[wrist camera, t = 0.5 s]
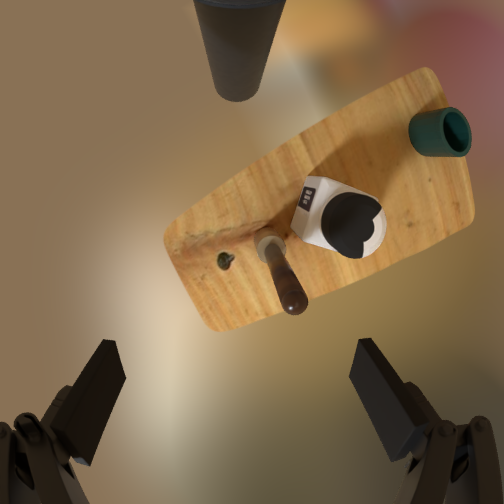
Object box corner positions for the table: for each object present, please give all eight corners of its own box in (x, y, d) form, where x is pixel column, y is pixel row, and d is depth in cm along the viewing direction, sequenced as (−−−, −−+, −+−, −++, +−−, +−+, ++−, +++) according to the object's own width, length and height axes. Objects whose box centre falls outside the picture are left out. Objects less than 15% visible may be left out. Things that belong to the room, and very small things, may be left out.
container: (288, 227, 38) (314, 255, 26) (306, 174, 36) (340, 176, 24) (337, 243, 39) (378, 274, 27) (354, 193, 37) (404, 204, 25)
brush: (253, 227, 38) (272, 286, 19) (279, 226, 38) (323, 282, 19) (254, 253, 39) (272, 331, 20) (280, 252, 39) (319, 326, 20)
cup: (406, 110, 34) (437, 102, 26) (438, 118, 34) (469, 113, 26) (409, 153, 36) (441, 153, 28) (440, 158, 36) (472, 160, 28)
